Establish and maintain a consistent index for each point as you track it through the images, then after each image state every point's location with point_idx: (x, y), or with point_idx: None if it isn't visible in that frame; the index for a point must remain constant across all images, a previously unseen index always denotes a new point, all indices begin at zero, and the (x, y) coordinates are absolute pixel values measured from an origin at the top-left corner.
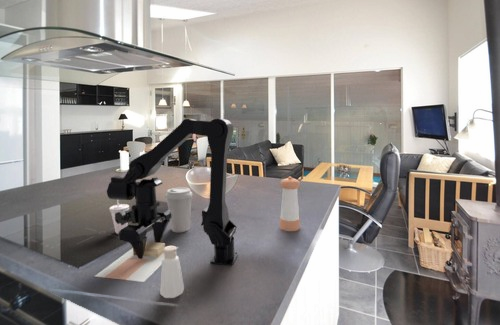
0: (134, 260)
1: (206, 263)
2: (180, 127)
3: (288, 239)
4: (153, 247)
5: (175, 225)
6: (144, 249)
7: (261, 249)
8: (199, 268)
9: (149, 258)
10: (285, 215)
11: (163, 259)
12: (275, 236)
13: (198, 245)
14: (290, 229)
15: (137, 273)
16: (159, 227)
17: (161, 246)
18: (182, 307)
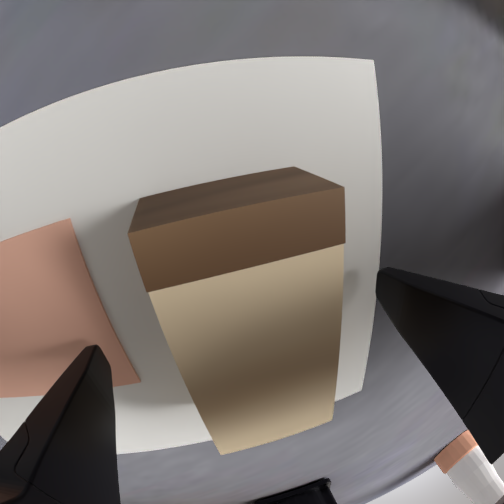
0: (66, 306)
1: (251, 496)
2: None
3: (399, 479)
4: (230, 425)
5: None
6: (112, 463)
7: (356, 492)
8: (213, 501)
9: (162, 372)
10: (458, 474)
11: None
12: (417, 463)
13: (387, 412)
14: (436, 460)
15: (17, 413)
16: (490, 399)
17: (277, 435)
18: None
